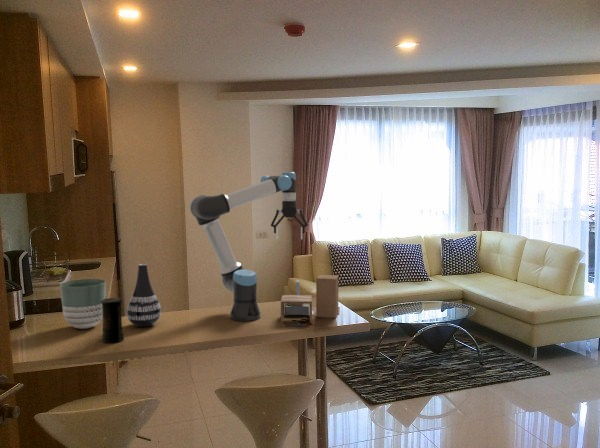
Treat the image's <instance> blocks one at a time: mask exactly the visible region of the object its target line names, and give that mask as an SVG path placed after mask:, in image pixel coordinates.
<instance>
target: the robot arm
mask: <svg viewBox="0 0 600 448" xmlns="http://www.w3.org/2000/svg"><path fill="white" fill-rule="evenodd" d="M296 183H297V176H296V173H295V172H294V171H292V172H291V171H284V172H281V175H263V176H262V177H261V179H260V182H259V183H255V184H253V185H250V186H247V187H245V188H241V189H239V190H236V191H233V192H230V193H227V194H224V193H221V194H218V195H205V194H204V195H203V194H201V195H198V196H196V197H195V198H193V199H192V201H191V203H190V204H189V205H190V206H189V209H190V213H191V215H192V216H193V217H194V218H195V219H196V221H197V224H198V226H199V227H202V228H203V229H204V232H205V234H206V237H207V238H208V240H209V243H210V245H211V248H212V250H213V253H214V254H215V257H216V258H217V261H218V263H219V266H220V268H221V269H220V273H219V274H220V275H221V278H222V279H221V280H222V284H223V286H224V287H225V289H227V290H229V291H230V292H232V293H233V303H232V307H231V310H230V319H231V320H232V321H237V322H238V321H239V322H250V321H255V320H256V321H257V320H258V319H260V318H261V311H260V308H259V305H258V298H257V296H258V288H257V287H258V286H257V284H258V282H257V280H258V279H257V273H256V271H254V270H252V269H251V270H250V269H244V268H243V265H242V263H241V262H240V261H239V262H238V261H237V259H236V256H235V254H234V252H233V250H232V247H231V245H230V243H229V240H228V238H227V236H226V233H225V232H224V231H225V230H224V228H223V227H222V225H221V222H220V219H221V216H224V215H226V214H228V213H231V210H233V209H235V208H238V207H241V206H243V205H247V204H249V203H252V202H254V201H257V200H259V199H262V198H265V197H268V196H271V195H274V194H276V193H279V192H281V197H282V198H281V200H282V202H281V207H282V208H281V209H278V208H277V209H276V212H275V215H274V217H273V219H272V221H271V223H270V227H273V233H274V234H275V240H278V239H279V234H278V233H279V230H278V225H279V224H280V223H281V222H282V221H283V220H284V218H287V219H288V218H294V219H295V220H296V222H298V224H299V225H300V226H301V227H300V240H303V234H305V228H306V227H308V225H309V224H308V222H307V221H306V218H305V216H304V214H303V210H302V209H301V208H300V209H297V201H296V199H297V191H296V190H297V189H296V188H297V186H296ZM279 214H282V215H281V217H280V218H279V219H278V221H277V218H278V216H279ZM296 214H299V215H300V217H301V219H302V220H301V219H299V217H298V216H297V215H296ZM276 221H277V222H276ZM275 222H276V223H275Z"/></svg>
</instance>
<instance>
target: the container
mask: <svg viewBox="0 0 600 448" xmlns="http://www.w3.org/2000/svg"><path fill="white" fill-rule="evenodd" d="M101 303H102V308H103V309H102V315H103V318H102V336H101V342H102V344H107V345H108V344H117V343H118V344H119V343H121V342H123V341H124V333H123V326H122V325H123V323H122V322H123V321H122V298H121V297H108V298H106V299H103V300H102V301H101Z"/></svg>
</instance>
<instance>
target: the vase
mask: <svg viewBox="0 0 600 448" xmlns="http://www.w3.org/2000/svg"><path fill="white" fill-rule="evenodd" d="M148 269H149V268H148V265H147V264H145V263H139V264H138V266H137V276H136V283H135V286H134V289H133V291H132V295H131V297H130V299H129V301H128V304H127V307H126V317H127V320H128V321H129V322H130V323H131V325H133V326H135V327H137V328H140V329H141V328H143V329H144V328H149V327H152V326H153V325H154V324H156V323H157V322H158V321H159V319H160V317H161V315H162V307H161V303H160V301H159V299H158V297H157V295H156V294H155V291H154V288H153V286H152V284H151V283H152V282H151V280H150V275H149V271H148Z"/></svg>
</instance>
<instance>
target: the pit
mask: <svg viewBox="0 0 600 448" xmlns="http://www.w3.org/2000/svg"><path fill="white" fill-rule="evenodd" d="M301 323H302V322H301ZM301 323H300V322H298V323H296V322H295V323H293V322H292V323H291V322H290V323H287V322H286V323H285V327H287V328H288V327H291V328H294V327H297V328H300V327H301V328H303V327H306V328H307V326H308V325H307V324H308V323H307V322H306V324H301Z"/></svg>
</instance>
